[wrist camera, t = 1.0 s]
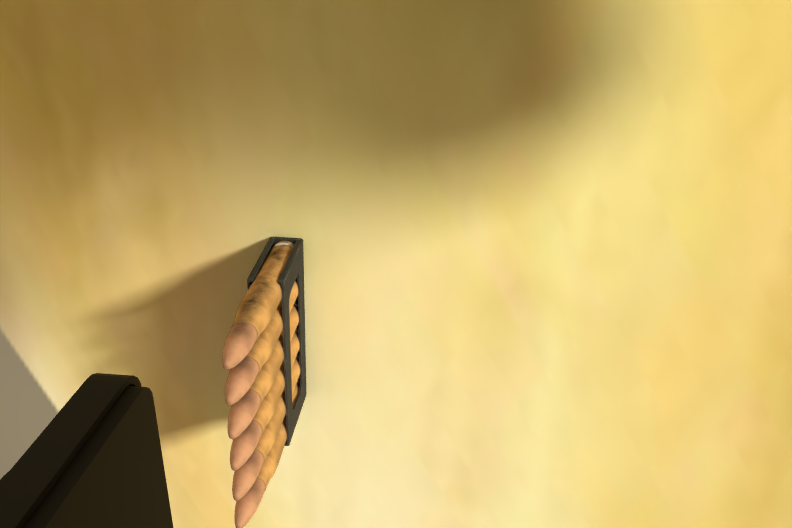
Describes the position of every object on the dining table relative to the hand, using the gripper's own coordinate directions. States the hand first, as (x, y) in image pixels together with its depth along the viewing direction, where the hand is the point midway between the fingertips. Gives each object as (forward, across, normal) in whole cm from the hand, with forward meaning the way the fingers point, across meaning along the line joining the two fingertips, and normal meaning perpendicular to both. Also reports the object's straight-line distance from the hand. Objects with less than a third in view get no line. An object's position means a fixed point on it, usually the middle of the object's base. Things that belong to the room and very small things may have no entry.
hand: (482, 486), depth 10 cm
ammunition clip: (+29, +10, +14) cm, 34 cm away
